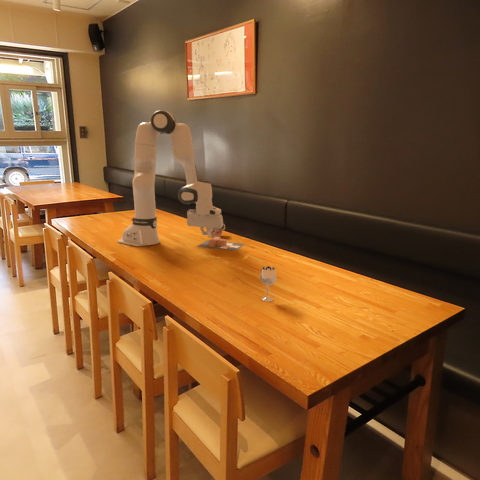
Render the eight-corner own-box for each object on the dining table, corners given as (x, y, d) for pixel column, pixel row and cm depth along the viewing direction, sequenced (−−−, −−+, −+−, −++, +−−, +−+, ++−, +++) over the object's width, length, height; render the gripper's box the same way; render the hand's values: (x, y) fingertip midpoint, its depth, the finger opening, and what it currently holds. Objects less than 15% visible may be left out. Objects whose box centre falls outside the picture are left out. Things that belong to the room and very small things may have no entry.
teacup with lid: (211, 238, 228) (211, 219, 225) (203, 235, 236) (203, 216, 233) (229, 236, 235) (229, 217, 232) (220, 233, 242) (221, 214, 239)
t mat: (197, 247, 210) (197, 246, 210) (208, 240, 224) (208, 239, 224) (235, 252, 203) (235, 250, 203) (244, 244, 217) (244, 243, 217)
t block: (208, 246, 211) (208, 240, 210) (215, 241, 220) (215, 236, 219) (222, 247, 208) (222, 242, 207) (228, 243, 217) (229, 238, 217)
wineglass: (265, 295, 149) (266, 264, 146) (278, 299, 145) (279, 268, 142) (256, 299, 144) (257, 268, 141) (269, 303, 141) (270, 272, 138)
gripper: (184, 210, 213) (185, 234, 216) (219, 212, 206) (220, 237, 210) (189, 208, 218) (190, 232, 222) (224, 209, 212) (224, 234, 216)
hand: (205, 234), depth 216 cm, fingers closed
